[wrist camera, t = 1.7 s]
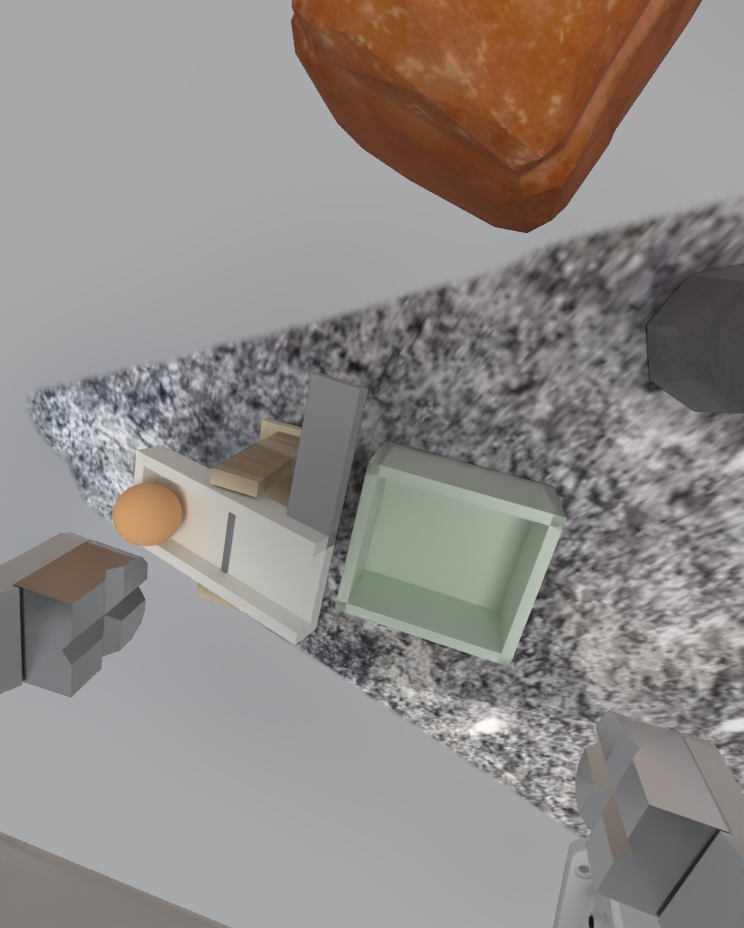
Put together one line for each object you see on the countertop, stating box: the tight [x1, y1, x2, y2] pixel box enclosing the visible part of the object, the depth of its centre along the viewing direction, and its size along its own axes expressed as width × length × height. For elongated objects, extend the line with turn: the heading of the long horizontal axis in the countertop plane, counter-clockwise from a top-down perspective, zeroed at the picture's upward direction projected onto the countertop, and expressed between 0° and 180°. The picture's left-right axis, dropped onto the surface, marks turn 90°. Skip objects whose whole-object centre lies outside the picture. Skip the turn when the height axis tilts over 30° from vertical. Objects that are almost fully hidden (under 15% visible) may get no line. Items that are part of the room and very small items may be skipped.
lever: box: [134, 373, 368, 645], centre depth 29 cm, size 15×15×2 cm
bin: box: [335, 441, 567, 667], centre depth 35 cm, size 12×13×6 cm
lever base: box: [197, 418, 302, 610], centre depth 35 cm, size 10×6×11 cm, turn 167°
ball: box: [113, 483, 182, 546], centre depth 31 cm, size 4×4×4 cm
